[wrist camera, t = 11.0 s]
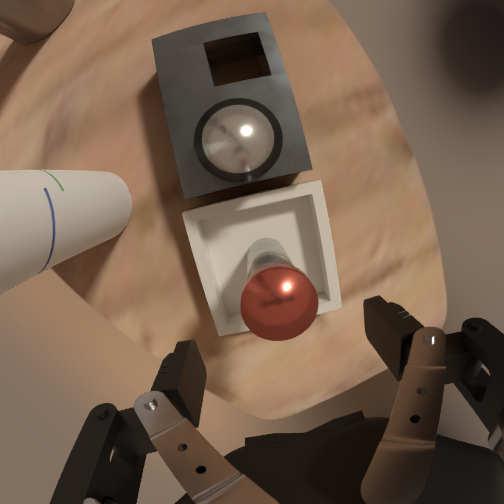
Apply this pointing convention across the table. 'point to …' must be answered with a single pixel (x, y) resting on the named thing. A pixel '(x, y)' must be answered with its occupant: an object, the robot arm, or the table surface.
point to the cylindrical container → (56, 218)
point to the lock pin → (276, 293)
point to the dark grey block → (228, 107)
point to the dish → (256, 227)
